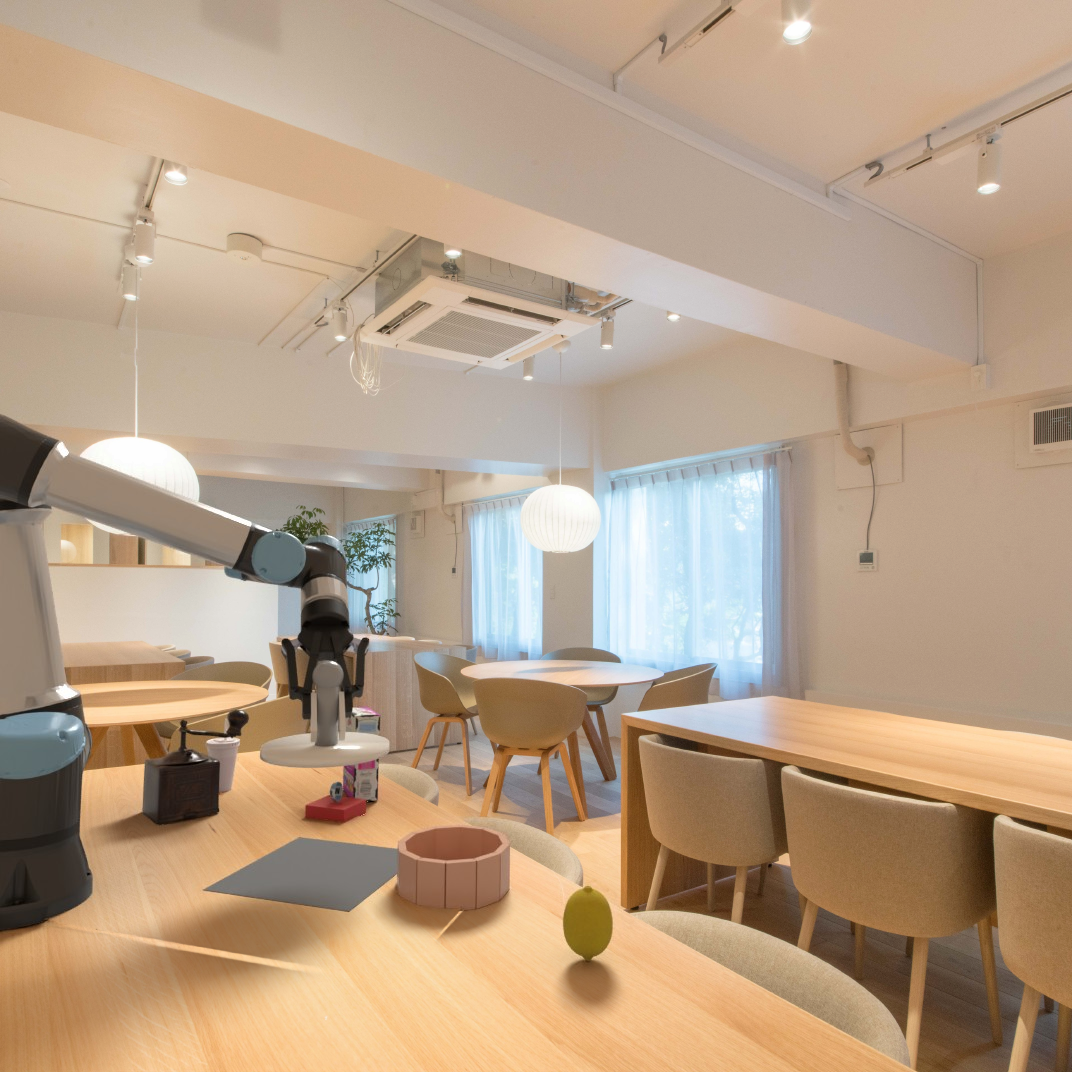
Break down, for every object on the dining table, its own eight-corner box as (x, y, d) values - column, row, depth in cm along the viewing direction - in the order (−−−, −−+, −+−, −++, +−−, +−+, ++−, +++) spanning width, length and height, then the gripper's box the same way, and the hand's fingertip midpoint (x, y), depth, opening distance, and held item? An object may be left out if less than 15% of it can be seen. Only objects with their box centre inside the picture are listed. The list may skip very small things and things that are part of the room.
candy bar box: (379, 801, 144) (381, 714, 145) (353, 804, 142) (355, 716, 143) (366, 787, 154) (368, 705, 155) (341, 789, 152) (343, 707, 153)
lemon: (554, 965, 83) (554, 890, 83) (575, 944, 88) (575, 873, 88) (601, 978, 80) (601, 900, 81) (620, 955, 85) (620, 882, 85)
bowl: (485, 917, 94) (486, 868, 95) (377, 902, 98) (378, 855, 99) (521, 873, 109) (522, 831, 109) (426, 862, 113) (426, 821, 113)
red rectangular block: (305, 821, 132) (306, 784, 133) (328, 810, 139) (329, 775, 139) (343, 826, 130) (344, 789, 130) (365, 815, 136) (366, 779, 136)
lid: (348, 772, 98) (351, 669, 99) (231, 761, 103) (235, 664, 104) (410, 744, 115) (411, 657, 116) (307, 736, 120) (309, 653, 121)
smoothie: (226, 794, 147) (228, 722, 148) (196, 792, 149) (199, 720, 149) (245, 786, 154) (247, 716, 154) (216, 784, 155) (219, 715, 156)
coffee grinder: (158, 827, 128) (162, 719, 129) (140, 812, 136) (144, 711, 137) (250, 809, 138) (253, 709, 139) (228, 796, 146) (231, 702, 148)
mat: (349, 915, 95) (349, 911, 95) (202, 893, 101) (202, 889, 101) (424, 855, 116) (424, 851, 116) (299, 840, 122) (299, 837, 122)
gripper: (373, 627, 127) (384, 747, 111) (271, 628, 122) (266, 754, 106) (378, 596, 123) (389, 717, 106) (272, 595, 118) (266, 722, 101)
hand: (328, 735), depth 106 cm, fingers closed on lid, 3 cm apart
